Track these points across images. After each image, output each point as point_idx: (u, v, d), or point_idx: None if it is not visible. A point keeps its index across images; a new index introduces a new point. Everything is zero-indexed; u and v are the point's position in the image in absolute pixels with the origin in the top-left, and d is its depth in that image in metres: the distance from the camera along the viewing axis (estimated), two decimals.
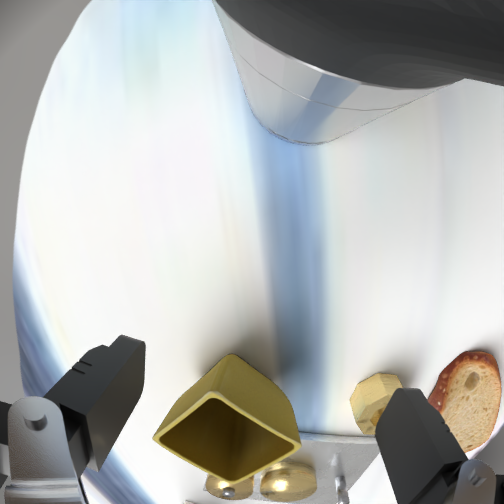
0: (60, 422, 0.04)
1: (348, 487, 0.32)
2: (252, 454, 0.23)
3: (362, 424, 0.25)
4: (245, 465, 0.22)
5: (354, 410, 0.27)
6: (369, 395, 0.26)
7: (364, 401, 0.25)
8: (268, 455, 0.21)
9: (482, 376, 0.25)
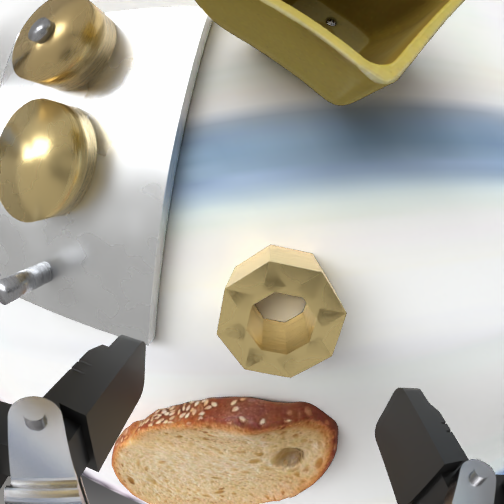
0: (60, 422, 0.04)
1: (24, 295, 0.17)
2: None
3: (263, 278, 0.13)
4: None
5: (277, 254, 0.15)
6: (325, 277, 0.14)
7: (319, 268, 0.14)
8: None
9: (298, 469, 0.18)
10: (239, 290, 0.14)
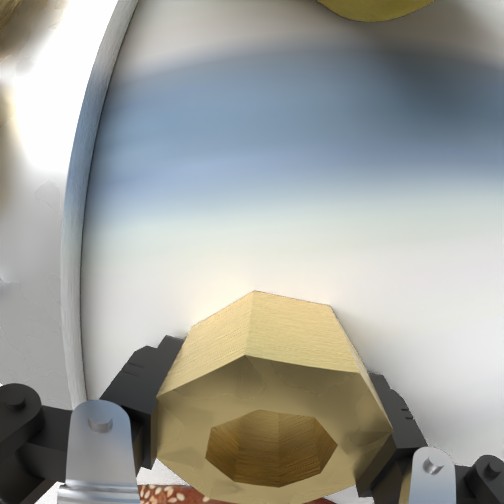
0: (128, 423, 0.05)
1: None
2: None
3: (232, 385, 0.06)
4: None
5: (264, 323, 0.07)
6: (359, 365, 0.07)
7: (351, 356, 0.06)
8: None
9: None
10: (184, 402, 0.06)
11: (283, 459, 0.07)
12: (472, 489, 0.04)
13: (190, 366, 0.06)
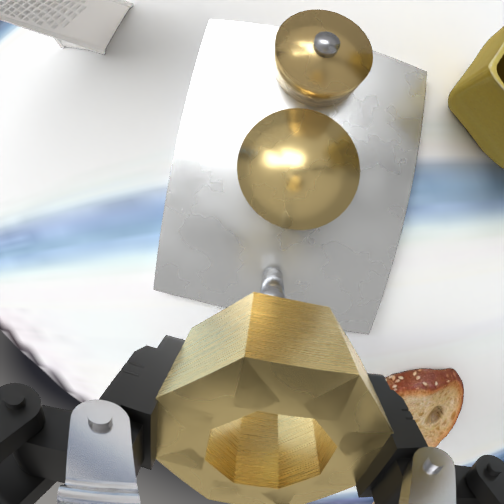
0: (127, 423, 0.05)
1: (229, 302, 0.21)
2: None
3: (232, 387, 0.06)
4: None
5: (264, 324, 0.07)
6: (359, 366, 0.07)
7: (351, 357, 0.06)
8: None
9: (439, 423, 0.22)
10: (184, 404, 0.06)
11: (283, 460, 0.07)
12: (472, 489, 0.04)
13: (189, 368, 0.06)
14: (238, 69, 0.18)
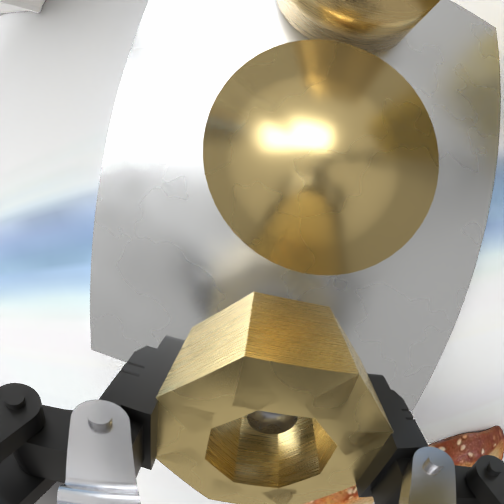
0: (127, 423, 0.05)
1: None
2: None
3: (232, 386, 0.06)
4: None
5: (264, 324, 0.07)
6: (359, 366, 0.07)
7: (351, 357, 0.06)
8: None
9: None
10: (184, 403, 0.06)
11: (283, 460, 0.07)
12: (472, 489, 0.04)
13: (190, 367, 0.06)
14: None
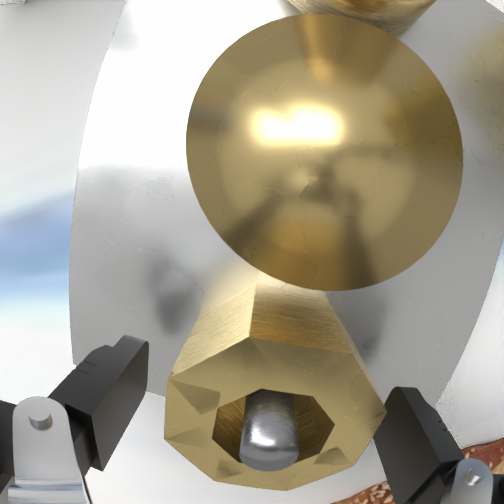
0: (65, 422, 0.04)
1: None
2: None
3: (237, 365, 0.06)
4: None
5: (265, 310, 0.08)
6: (353, 349, 0.07)
7: (345, 340, 0.07)
8: None
9: None
10: (193, 383, 0.07)
11: None
12: None
13: (198, 350, 0.07)
14: None
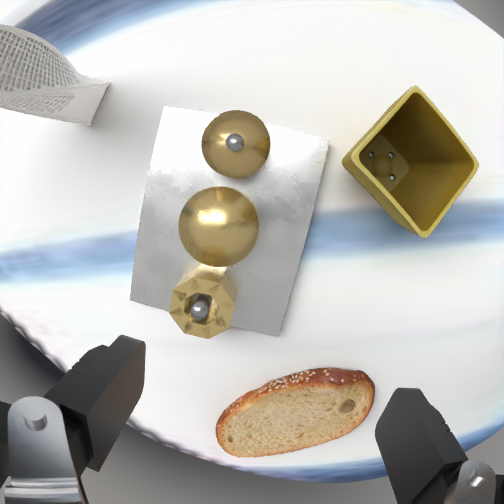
0: (60, 422, 0.04)
1: None
2: None
3: (190, 285, 0.26)
4: None
5: (200, 272, 0.28)
6: (225, 285, 0.27)
7: (220, 280, 0.27)
8: None
9: (352, 414, 0.33)
10: (179, 290, 0.26)
11: (208, 319, 0.28)
12: None
13: (181, 282, 0.27)
14: (183, 150, 0.27)
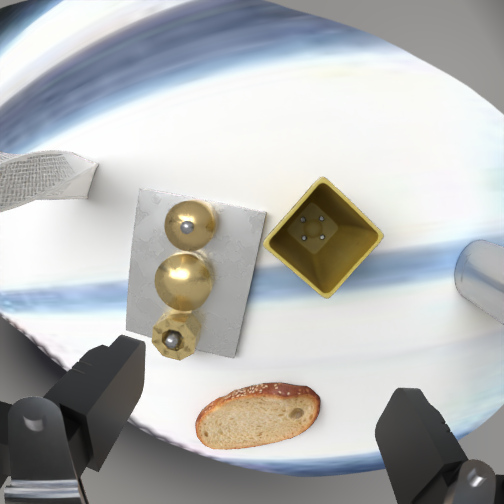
0: (60, 422, 0.04)
1: None
2: (287, 256, 0.31)
3: (164, 324, 0.36)
4: (280, 252, 0.31)
5: (172, 314, 0.37)
6: (189, 323, 0.37)
7: (185, 321, 0.37)
8: (302, 272, 0.31)
9: (301, 420, 0.42)
10: (157, 327, 0.36)
11: (179, 346, 0.38)
12: None
13: (159, 321, 0.37)
14: (156, 223, 0.37)
